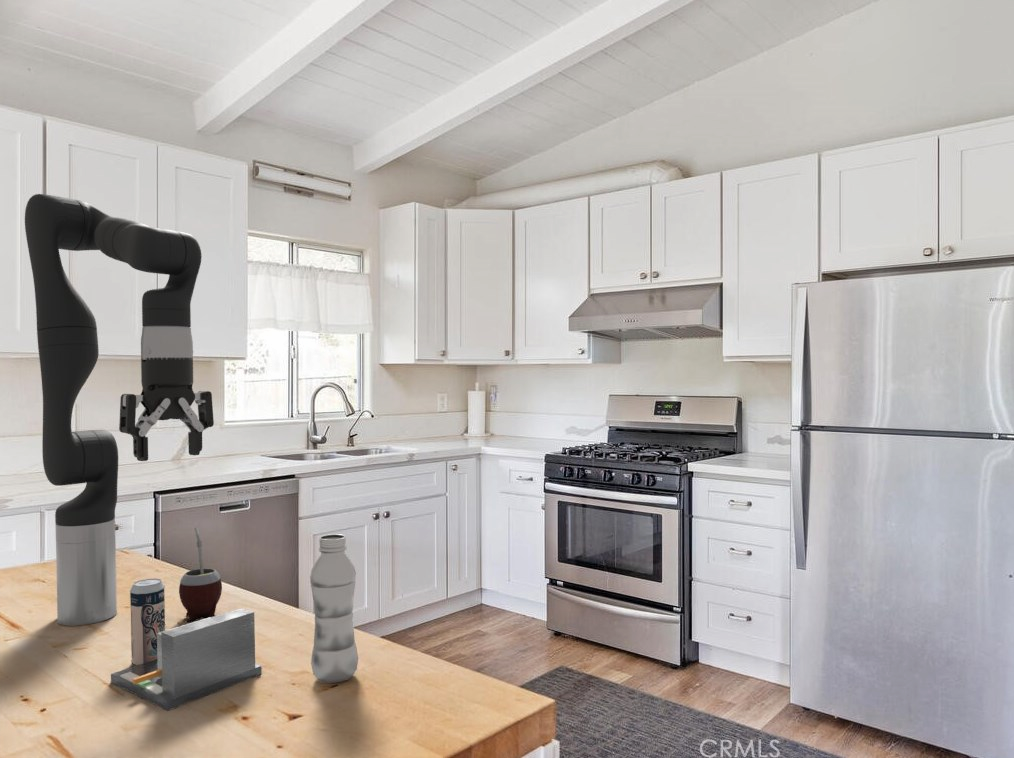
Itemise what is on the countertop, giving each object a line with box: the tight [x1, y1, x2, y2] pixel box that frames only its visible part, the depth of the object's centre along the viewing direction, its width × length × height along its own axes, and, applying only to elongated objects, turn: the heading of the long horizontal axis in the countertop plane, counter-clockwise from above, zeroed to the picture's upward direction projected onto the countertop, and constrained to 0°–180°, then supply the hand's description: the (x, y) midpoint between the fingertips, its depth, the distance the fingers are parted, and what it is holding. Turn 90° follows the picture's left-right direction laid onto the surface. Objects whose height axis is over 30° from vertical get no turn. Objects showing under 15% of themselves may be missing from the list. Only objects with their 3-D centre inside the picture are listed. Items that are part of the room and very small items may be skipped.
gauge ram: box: [133, 617, 211, 684], centre depth 104 cm, size 2×12×6 cm, turn 143°
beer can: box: [129, 578, 166, 666], centre depth 112 cm, size 5×5×12 cm
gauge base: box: [110, 607, 263, 712], centre depth 106 cm, size 15×14×9 cm
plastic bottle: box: [309, 533, 359, 684], centre depth 105 cm, size 6×7×20 cm
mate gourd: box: [178, 526, 223, 624], centre depth 133 cm, size 8×8×15 cm
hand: (168, 457), depth 119 cm, fingers open, 8 cm apart
